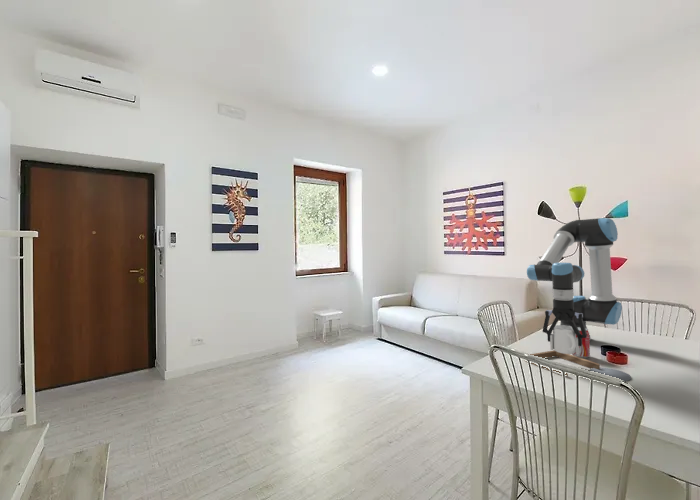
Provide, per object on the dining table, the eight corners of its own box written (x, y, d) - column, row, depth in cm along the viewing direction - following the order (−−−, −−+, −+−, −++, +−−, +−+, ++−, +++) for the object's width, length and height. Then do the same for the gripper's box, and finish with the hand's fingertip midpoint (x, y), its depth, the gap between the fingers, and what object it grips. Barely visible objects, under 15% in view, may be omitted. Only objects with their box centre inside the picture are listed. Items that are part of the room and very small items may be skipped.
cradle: (524, 360, 154) (523, 355, 154) (556, 355, 159) (555, 349, 159) (565, 377, 134) (564, 370, 134) (599, 370, 140) (599, 364, 140)
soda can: (586, 354, 159) (586, 327, 159) (592, 359, 152) (591, 330, 152) (569, 353, 161) (568, 326, 161) (574, 358, 155) (573, 330, 154)
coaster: (581, 371, 139) (581, 370, 139) (604, 367, 143) (604, 365, 143) (615, 383, 127) (615, 382, 126) (639, 378, 130) (639, 376, 130)
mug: (585, 357, 138) (584, 332, 137) (563, 357, 139) (563, 332, 138) (570, 348, 150) (569, 325, 149) (550, 348, 151) (549, 325, 150)
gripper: (533, 298, 149) (534, 348, 149) (592, 302, 134) (594, 358, 135) (537, 295, 154) (539, 344, 155) (595, 299, 140) (596, 353, 140)
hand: (564, 351), depth 145 cm, fingers closed on mug, 9 cm apart
